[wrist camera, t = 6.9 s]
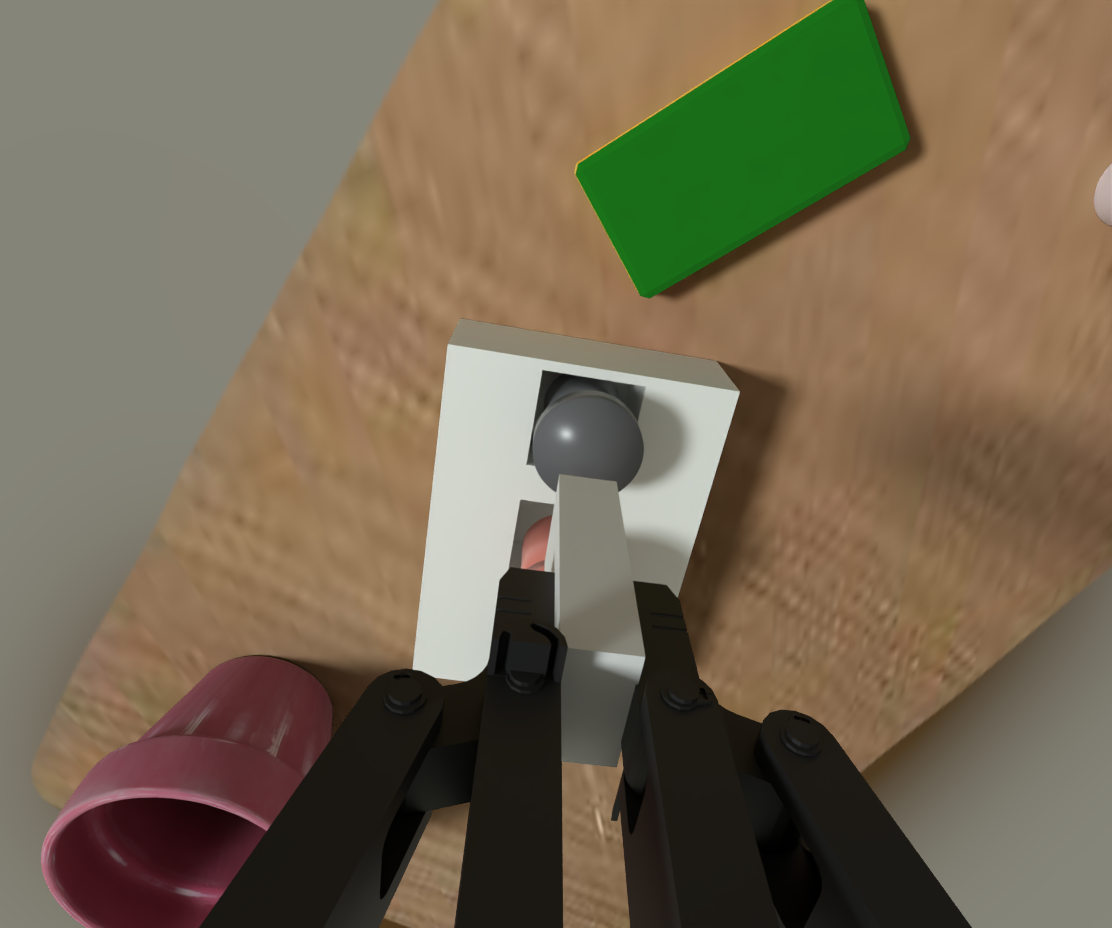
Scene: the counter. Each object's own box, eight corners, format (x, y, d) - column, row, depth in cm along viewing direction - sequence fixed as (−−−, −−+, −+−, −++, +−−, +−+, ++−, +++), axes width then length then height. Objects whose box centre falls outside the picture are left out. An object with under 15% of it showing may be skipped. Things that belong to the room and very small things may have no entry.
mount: (716, 361, 38) (740, 391, 33) (635, 647, 46) (645, 703, 41) (459, 318, 36) (447, 344, 32) (425, 620, 45) (411, 674, 40)
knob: (638, 367, 36) (655, 409, 30) (618, 454, 38) (630, 508, 32) (542, 352, 35) (542, 391, 30) (527, 440, 37) (524, 492, 32)
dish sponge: (890, 145, 34) (914, 145, 31) (638, 292, 36) (644, 302, 34) (837, -6, 31) (859, -17, 29) (570, 166, 34) (571, 167, 32)
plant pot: (414, 717, 48) (373, 900, 37) (276, 805, 52) (200, 996, 40) (258, 586, 43) (155, 749, 32) (118, 692, 47) (-21, 873, 35)
